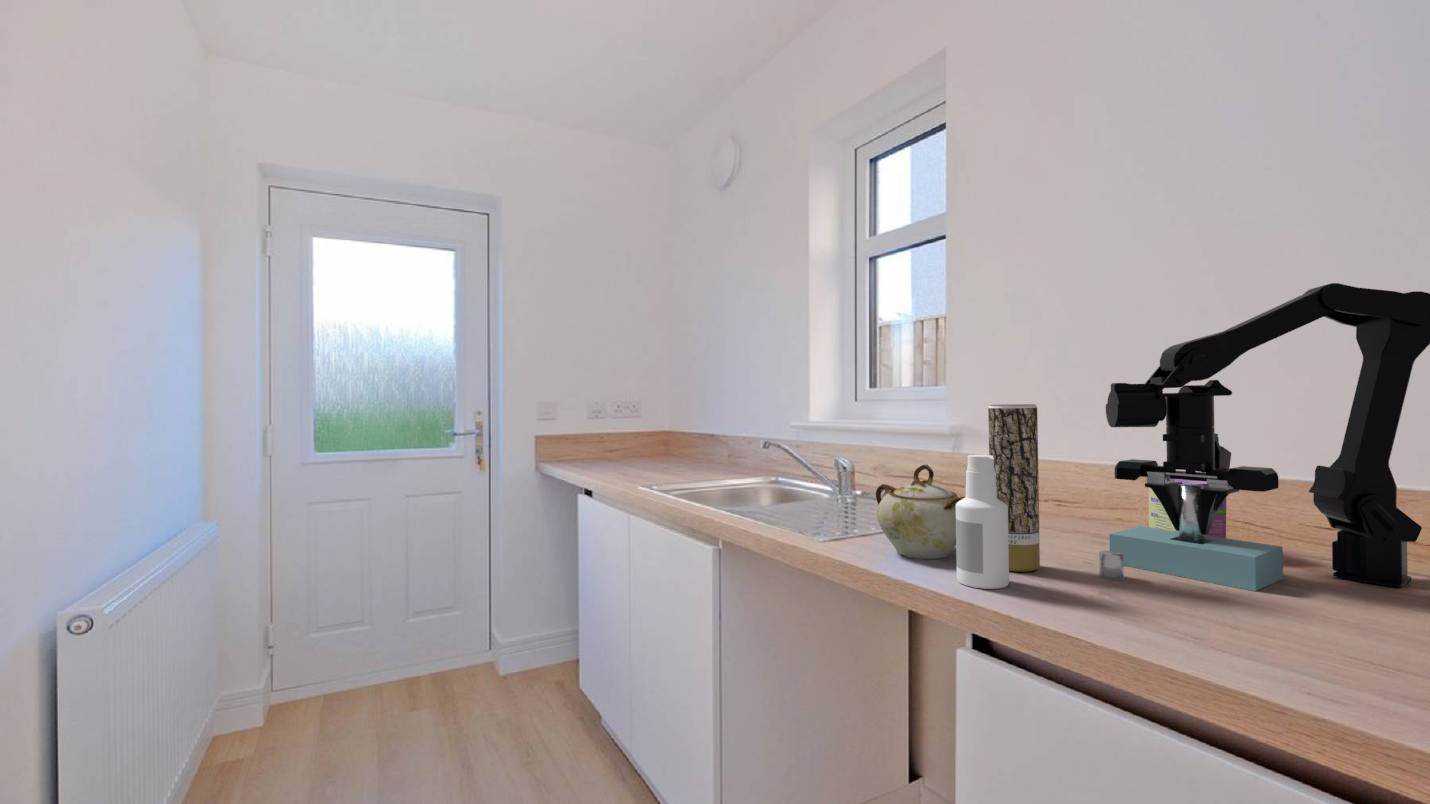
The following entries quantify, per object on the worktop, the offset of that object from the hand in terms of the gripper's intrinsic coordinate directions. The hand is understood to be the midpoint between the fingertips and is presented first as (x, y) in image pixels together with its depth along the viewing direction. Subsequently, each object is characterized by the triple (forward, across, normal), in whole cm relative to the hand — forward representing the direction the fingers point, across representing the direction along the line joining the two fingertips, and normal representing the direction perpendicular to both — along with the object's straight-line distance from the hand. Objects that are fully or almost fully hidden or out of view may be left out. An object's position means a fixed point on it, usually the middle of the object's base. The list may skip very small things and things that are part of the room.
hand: (1191, 532), depth 93 cm
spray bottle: (+6, +14, +30) cm, 34 cm away
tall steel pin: (+2, 0, 0) cm, 2 cm away
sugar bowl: (+6, +30, +23) cm, 38 cm away
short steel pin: (+6, +5, +13) cm, 15 cm away
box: (+6, +6, -14) cm, 16 cm away
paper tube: (+6, +16, +19) cm, 26 cm away
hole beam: (+6, 0, 0) cm, 6 cm away
